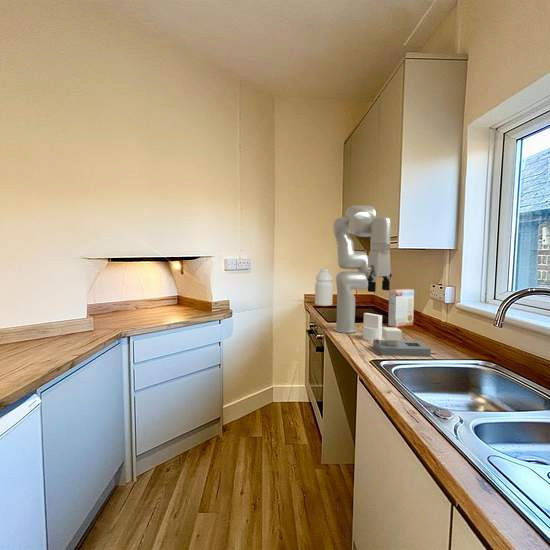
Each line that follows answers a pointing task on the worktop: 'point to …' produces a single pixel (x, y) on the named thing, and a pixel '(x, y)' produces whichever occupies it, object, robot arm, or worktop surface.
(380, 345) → the socket plate
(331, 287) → the bottle
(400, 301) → the cracker box
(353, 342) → the worktop surface
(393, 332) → the plug
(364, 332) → the base with upright slab
